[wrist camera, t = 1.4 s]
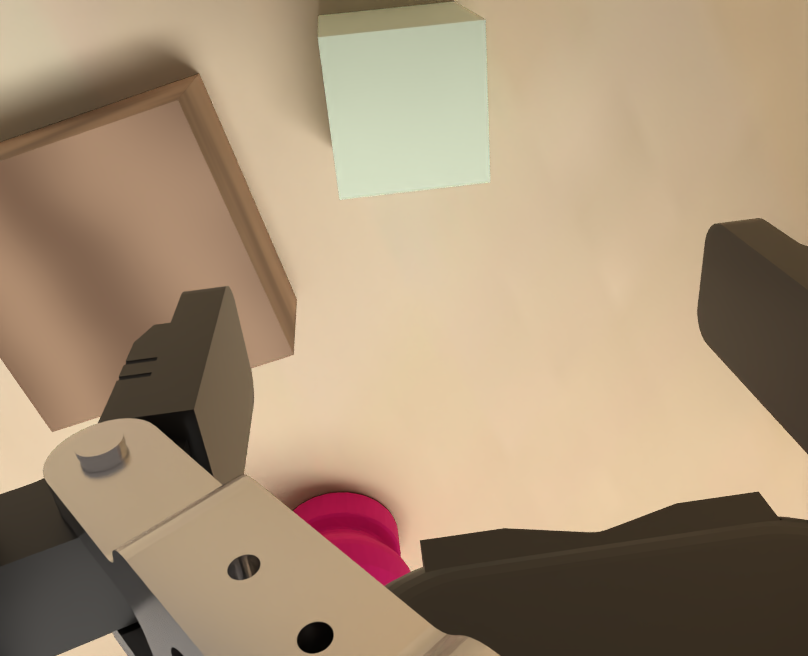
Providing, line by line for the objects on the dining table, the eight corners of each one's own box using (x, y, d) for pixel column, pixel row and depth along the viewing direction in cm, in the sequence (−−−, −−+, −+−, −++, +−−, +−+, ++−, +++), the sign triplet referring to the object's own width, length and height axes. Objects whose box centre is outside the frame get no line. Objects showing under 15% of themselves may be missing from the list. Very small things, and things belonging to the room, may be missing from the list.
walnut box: (200, 72, 27) (177, 99, 23) (297, 296, 32) (293, 354, 28) (-44, 156, 28) (-111, 199, 24) (87, 364, 33) (51, 432, 29)
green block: (453, 1, 27) (485, 19, 22) (460, 136, 29) (490, 182, 24) (318, 15, 27) (317, 37, 22) (336, 150, 29) (339, 199, 24)
